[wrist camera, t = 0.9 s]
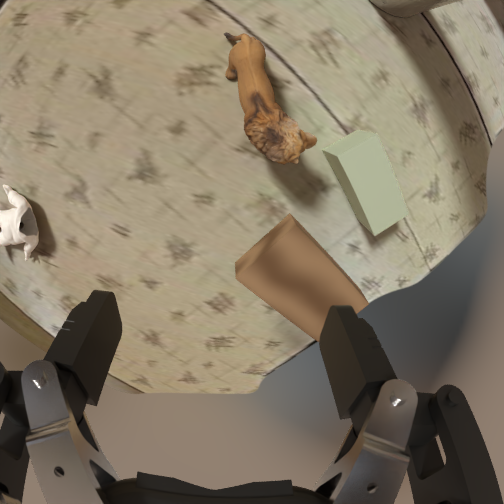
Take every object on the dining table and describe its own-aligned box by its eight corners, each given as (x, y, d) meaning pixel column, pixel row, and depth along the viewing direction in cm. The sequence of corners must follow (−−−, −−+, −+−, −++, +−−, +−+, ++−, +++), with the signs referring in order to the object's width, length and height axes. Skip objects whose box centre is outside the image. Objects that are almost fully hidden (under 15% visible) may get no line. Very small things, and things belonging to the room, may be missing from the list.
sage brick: (356, 129, 27) (377, 133, 23) (388, 199, 32) (408, 214, 27) (321, 149, 28) (337, 156, 24) (357, 219, 33) (374, 236, 28)
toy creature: (-32, 202, 22) (-6, 191, 20) (-5, 187, 27) (28, 174, 25) (-8, 273, 28) (24, 280, 25) (15, 254, 33) (51, 257, 31)
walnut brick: (289, 212, 32) (296, 225, 28) (358, 287, 38) (369, 303, 34) (235, 261, 34) (235, 278, 31) (311, 323, 41) (318, 341, 37)
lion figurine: (303, 143, 28) (330, 155, 20) (258, 161, 29) (268, 181, 21) (247, 26, 21) (253, -7, 13) (200, 45, 22) (186, 18, 14)
